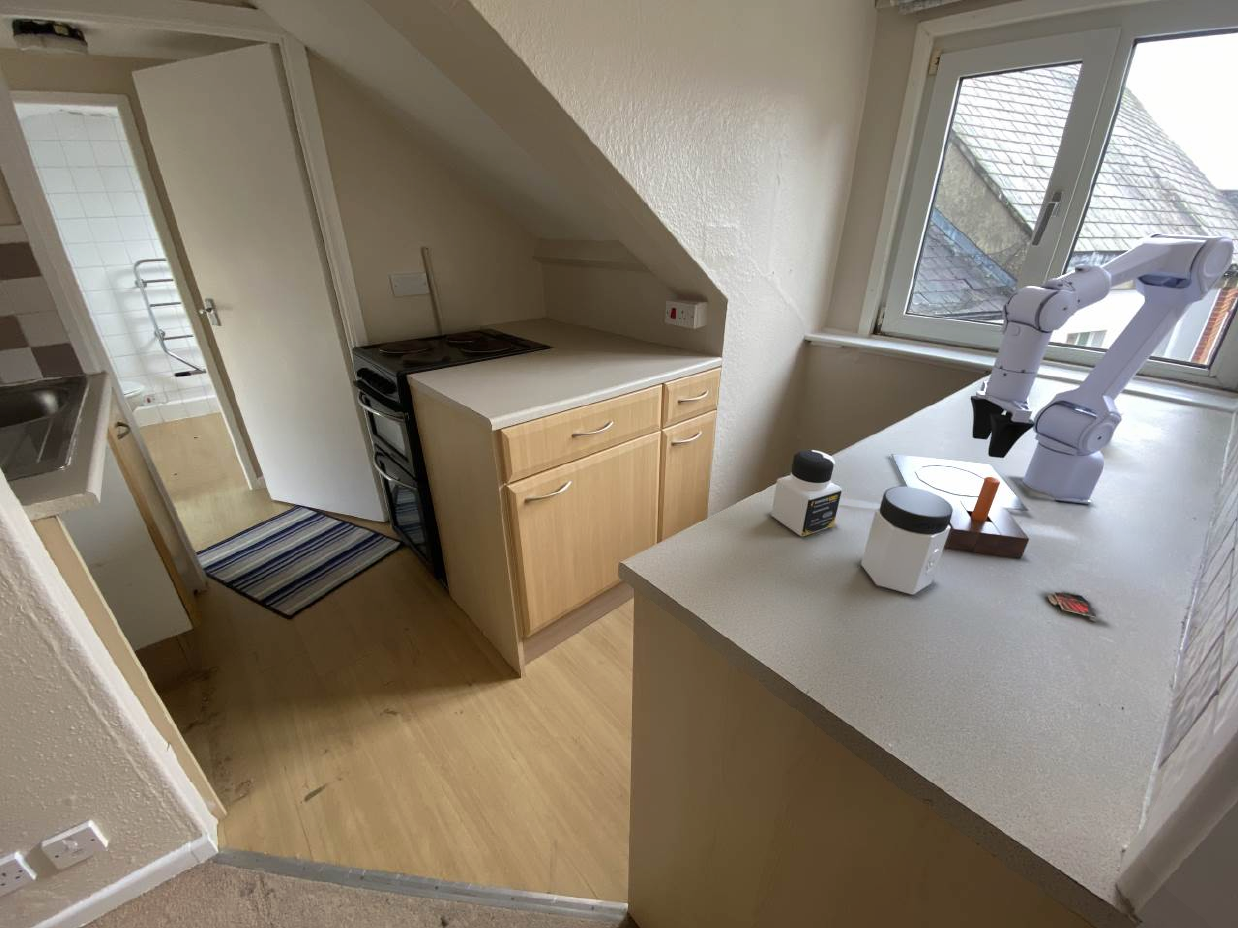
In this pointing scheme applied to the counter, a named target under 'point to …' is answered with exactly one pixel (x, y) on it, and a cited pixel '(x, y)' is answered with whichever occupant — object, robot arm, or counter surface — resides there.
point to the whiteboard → (953, 479)
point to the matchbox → (1073, 603)
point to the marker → (985, 499)
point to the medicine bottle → (807, 494)
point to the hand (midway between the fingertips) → (987, 447)
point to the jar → (907, 539)
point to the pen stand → (985, 531)
